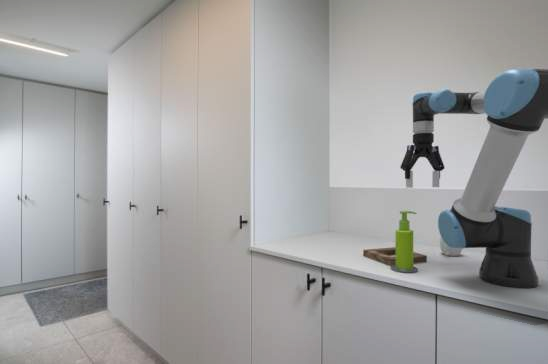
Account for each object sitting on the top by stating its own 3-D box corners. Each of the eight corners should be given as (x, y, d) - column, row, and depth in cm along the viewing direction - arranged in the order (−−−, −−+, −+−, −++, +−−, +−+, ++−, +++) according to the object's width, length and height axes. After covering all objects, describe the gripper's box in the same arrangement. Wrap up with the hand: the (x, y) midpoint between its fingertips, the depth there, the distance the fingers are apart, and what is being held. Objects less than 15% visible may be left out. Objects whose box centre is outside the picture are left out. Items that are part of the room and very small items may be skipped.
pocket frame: (426, 262, 126) (426, 255, 126) (390, 265, 121) (390, 259, 121) (396, 252, 142) (396, 247, 142) (363, 255, 137) (363, 249, 137)
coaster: (423, 271, 113) (423, 269, 113) (402, 274, 110) (402, 272, 110) (405, 265, 122) (405, 263, 122) (385, 267, 119) (385, 265, 119)
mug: (443, 251, 144) (443, 234, 144) (465, 254, 139) (465, 236, 139) (434, 256, 136) (434, 237, 136) (457, 259, 130) (457, 240, 130)
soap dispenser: (418, 270, 113) (418, 212, 112) (397, 269, 114) (397, 211, 114) (414, 265, 118) (414, 210, 118) (394, 265, 120) (394, 210, 120)
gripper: (439, 135, 137) (438, 186, 137) (390, 133, 128) (390, 187, 128) (454, 133, 130) (454, 187, 130) (405, 130, 121) (404, 188, 121)
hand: (422, 187), depth 129 cm, fingers open, 13 cm apart
